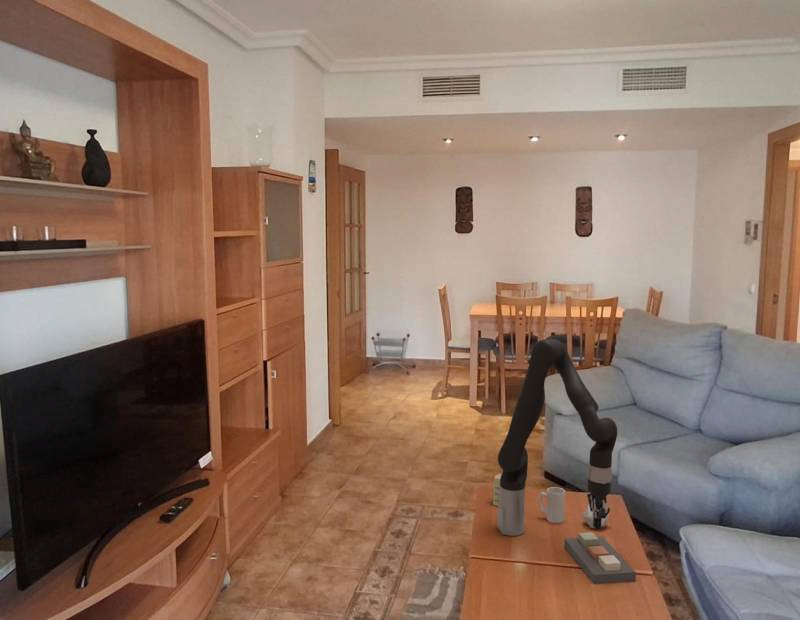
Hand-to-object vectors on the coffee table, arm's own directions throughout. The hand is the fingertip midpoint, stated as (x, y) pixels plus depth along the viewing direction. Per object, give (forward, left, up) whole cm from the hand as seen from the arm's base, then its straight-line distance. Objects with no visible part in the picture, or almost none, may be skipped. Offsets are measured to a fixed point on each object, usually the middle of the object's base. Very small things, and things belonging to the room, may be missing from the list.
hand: (597, 527), depth 204 cm
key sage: (0, +7, -11) cm, 13 cm away
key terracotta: (0, -1, -12) cm, 12 cm away
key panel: (0, -1, -12) cm, 12 cm away
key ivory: (0, -9, -11) cm, 14 cm away
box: (-17, +47, -12) cm, 51 cm away
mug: (-4, +32, -12) cm, 35 cm away
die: (+11, +25, -12) cm, 30 cm away
